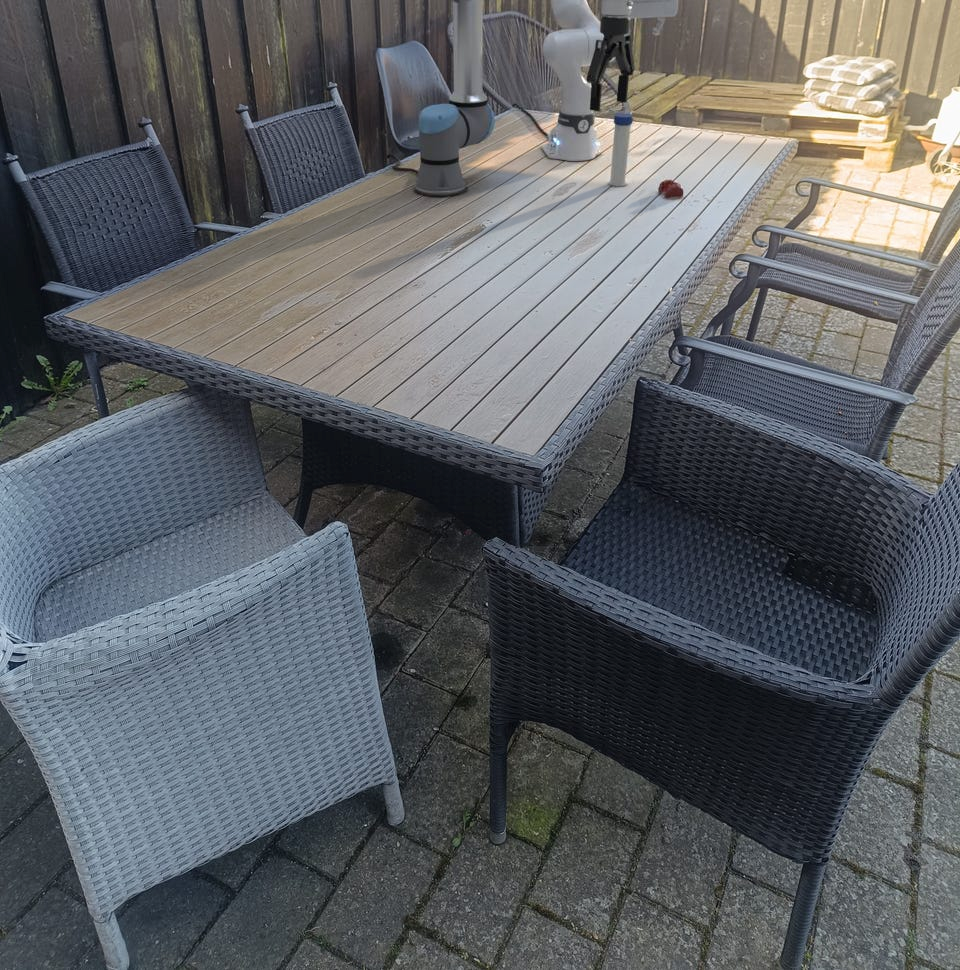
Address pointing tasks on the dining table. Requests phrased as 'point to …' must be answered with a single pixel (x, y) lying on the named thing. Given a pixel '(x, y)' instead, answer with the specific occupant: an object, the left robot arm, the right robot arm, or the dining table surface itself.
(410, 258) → the dining table surface
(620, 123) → the lid
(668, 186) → the dental model
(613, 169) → the white cylinder
